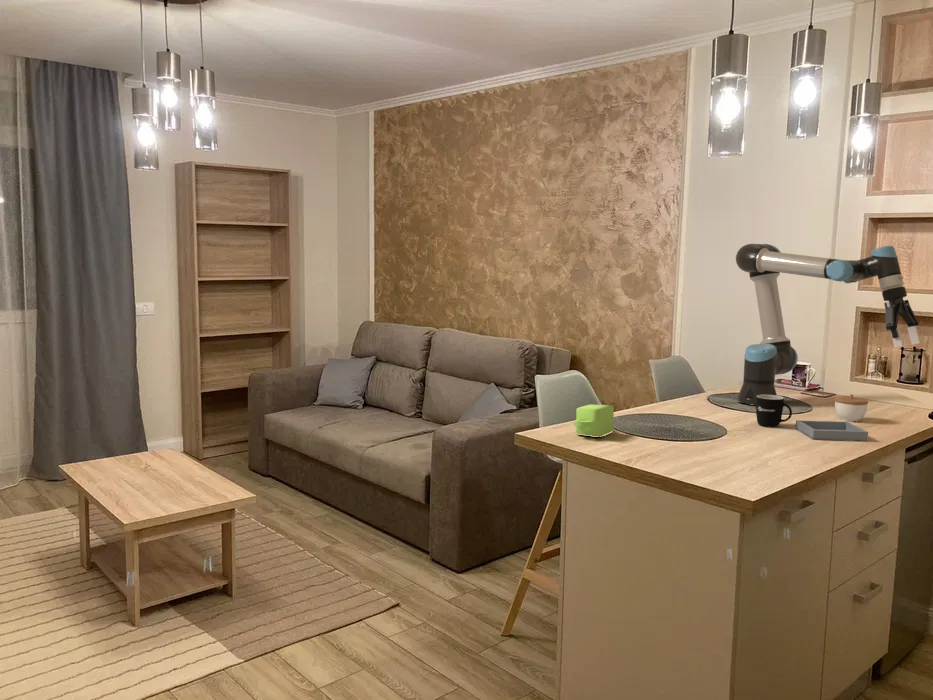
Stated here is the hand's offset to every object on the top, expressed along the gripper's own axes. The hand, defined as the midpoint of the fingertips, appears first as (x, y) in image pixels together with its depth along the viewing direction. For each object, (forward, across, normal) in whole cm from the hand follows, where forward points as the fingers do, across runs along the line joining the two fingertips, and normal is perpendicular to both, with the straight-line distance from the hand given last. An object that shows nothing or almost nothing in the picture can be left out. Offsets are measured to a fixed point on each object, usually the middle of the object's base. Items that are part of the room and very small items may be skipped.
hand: (907, 345), depth 269 cm
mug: (+19, -50, +28) cm, 60 cm away
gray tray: (+24, -45, +11) cm, 53 cm away
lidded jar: (+23, -16, +19) cm, 34 cm away
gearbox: (+10, -110, +53) cm, 123 cm away
